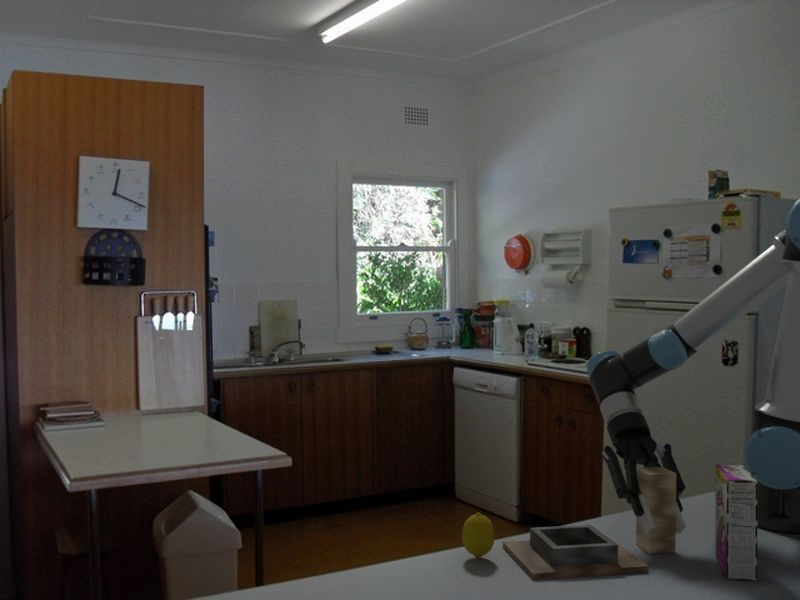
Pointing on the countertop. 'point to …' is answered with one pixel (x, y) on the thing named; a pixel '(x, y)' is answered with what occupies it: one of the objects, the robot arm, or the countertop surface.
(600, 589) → the countertop surface
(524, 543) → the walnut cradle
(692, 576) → the countertop surface
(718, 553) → the candy bar box
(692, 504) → the countertop surface
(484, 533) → the lemon
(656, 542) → the maple post
